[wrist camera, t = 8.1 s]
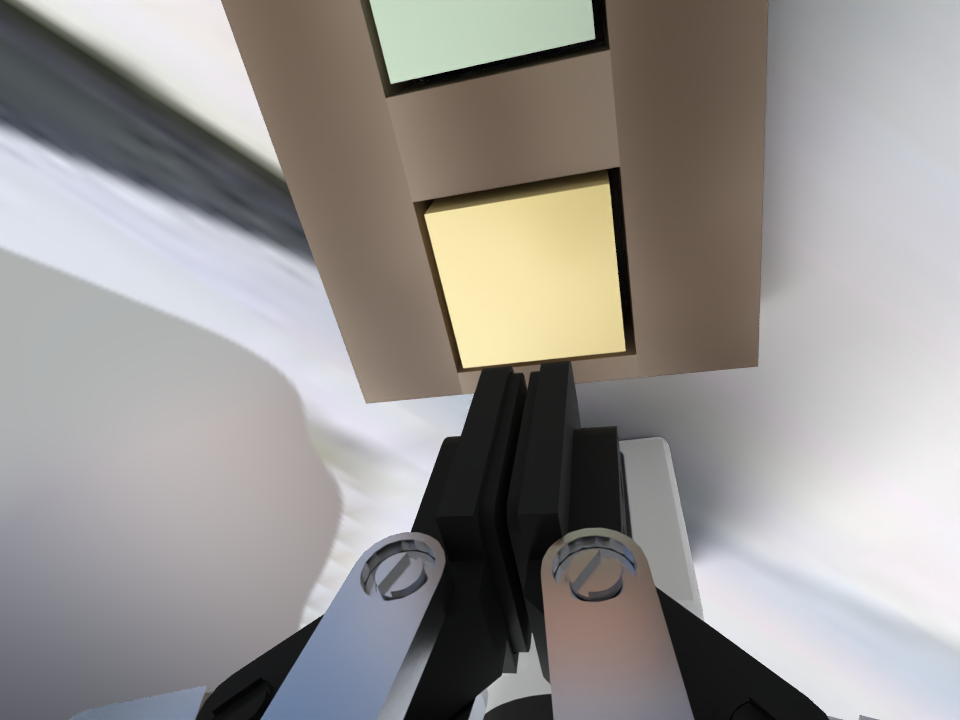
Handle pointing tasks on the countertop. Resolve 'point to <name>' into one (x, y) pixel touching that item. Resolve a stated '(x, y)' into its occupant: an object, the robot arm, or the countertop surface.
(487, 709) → the container
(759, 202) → the key panel
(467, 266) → the ochre key
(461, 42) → the sage key
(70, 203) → the countertop surface
